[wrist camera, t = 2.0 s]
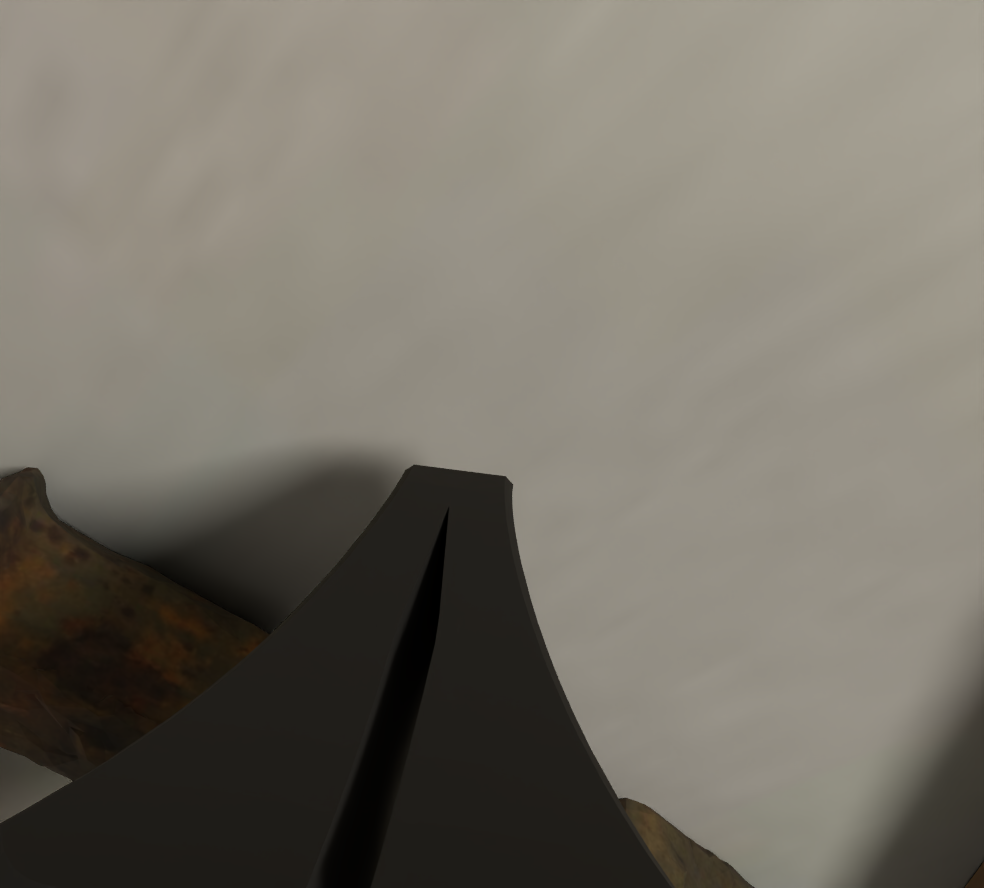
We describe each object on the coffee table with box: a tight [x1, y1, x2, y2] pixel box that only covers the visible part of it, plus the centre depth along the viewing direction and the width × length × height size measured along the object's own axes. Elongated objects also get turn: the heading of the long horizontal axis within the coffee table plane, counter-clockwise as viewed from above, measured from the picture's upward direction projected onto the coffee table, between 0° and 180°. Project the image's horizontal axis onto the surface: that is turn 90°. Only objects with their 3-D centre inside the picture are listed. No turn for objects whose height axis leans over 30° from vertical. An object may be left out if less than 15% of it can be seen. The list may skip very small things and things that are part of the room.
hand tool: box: [0, 467, 754, 888], centre depth 17 cm, size 19×4×5 cm, turn 53°
